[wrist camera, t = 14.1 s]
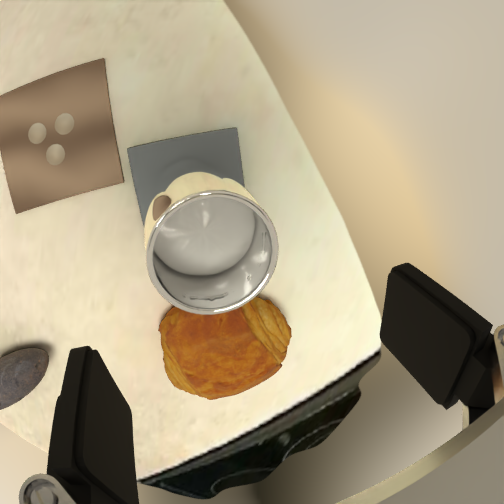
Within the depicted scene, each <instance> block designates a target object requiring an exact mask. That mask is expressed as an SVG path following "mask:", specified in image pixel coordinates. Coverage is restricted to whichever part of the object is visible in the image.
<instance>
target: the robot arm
mask: <svg viewBox="0 0 504 504" xmlns="http://www.w3.org/2000/svg"><path fill="white" fill-rule="evenodd" d="M492 326H493V325H492V324H491V323H490V322H488V321H487V320H486V319H484V318H483V317H482V316H481V315H479V314H478V313H477V312H476V311H474V310H473V309H472V308H470V307H469V306H468V305H466V304H465V303H463V302H462V301H461V300H460V299H458V298H457V297H456V296H454V295H453V294H452V293H450V292H449V291H448V290H446V289H445V288H444V287H442V286H441V285H439V284H438V283H437V282H435V281H434V280H433V279H431V278H430V277H428V276H427V275H426V274H424V273H423V272H421V271H420V270H419V269H417V268H416V267H414V266H413V265H411V264H410V263H404V264H401V265H398V266H395V267H393V268H392V270H391V273H389V275H388V280H387V288H386V296H385V303H384V310H383V317H382V323H381V329H380V339H381V341H382V343H383V344H384V345H385V346H386V347H387V348H388V349H389V351H390V352H391V353H392V354H393V355H394V356H395V357H396V358H397V359H398V360H399V361H400V363H401V364H402V365H403V366H404V367H405V368H406V369H407V370H408V371H409V373H410V374H411V375H412V376H413V377H414V378H415V379H416V380H417V382H418V383H419V384H420V385H421V386H422V387H423V388H424V389H425V391H426V392H427V393H428V394H429V395H430V396H431V397H432V398H433V400H434V401H435V402H436V403H438V404H442V405H443V407H444V408H445V409H446V410H447V409H448V408H450V407H451V406H453V405H454V404H456V403H457V402H458V400H459V399H460V400H461V402H462V407H463V409H462V410H463V430H462V431H461V432H460V433H459V434H457V435H456V436H454V437H453V438H452V439H451V440H449V441H447V442H446V443H445V444H443V445H442V446H440V447H439V448H437V449H436V450H434V451H433V452H432V453H430V454H428V455H427V456H425V457H424V458H422V459H420V460H419V461H417V462H415V463H414V464H412V465H411V466H409V467H407V468H406V469H404V470H402V471H400V472H399V473H397V474H395V475H393V476H391V477H390V478H388V479H386V480H384V481H382V482H380V483H379V484H377V485H375V486H373V487H370V488H369V489H366V490H365V491H362V492H360V493H358V494H356V495H354V496H352V497H349V498H347V499H345V500H343V501H341V502H338V503H336V504H504V325H501V326H498V327H497V328H496V330H495V332H494V334H493V335H492V334H491V333H490V331H491V329H492ZM19 502H20V504H139V499H138V490H137V481H136V470H135V459H134V444H133V426H132V413H131V409H130V407H129V405H128V403H127V402H126V400H125V398H124V397H123V395H122V393H121V392H120V390H119V388H118V387H117V385H116V383H115V381H114V380H113V378H112V376H111V374H110V373H109V371H108V369H107V367H106V365H105V363H104V362H103V360H102V358H101V356H100V354H99V352H98V351H97V350H92V349H91V347H90V346H84V347H79V348H74V349H71V350H70V353H69V357H68V362H67V366H66V371H65V375H64V380H63V385H62V390H61V395H60V396H59V397H58V399H57V402H56V407H55V413H54V419H53V425H52V432H51V439H50V447H49V456H48V465H47V474H36V475H33V476H31V477H29V478H28V479H27V480H26V481H25V482H24V483H23V485H22V487H21V489H20V494H19Z"/></svg>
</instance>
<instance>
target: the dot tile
mask: <svg viewBox="0 0 504 504" xmlns="http://www.w3.org/2000/svg"><path fill="white" fill-rule="evenodd" d="M0 151H1V156H2V161H3V166H4V170H5V175H6V179H7V183H8V187H9V191H10V195H11V198H12V202H13V205H14V209H15V212H16V214H18V213H21V212H24V211H27V210H30V209H33V208H36V207H39V206H42V205H45V204H48V203H52V202H55V201H58V200H61V199H65V198H68V197H71V196H75V195H78V194H82V193H85V192H89V191H93V190H96V189H100V188H104V187H108V186H112V185H115V184H119V183H123V182H124V179H123V174H122V169H121V164H120V159H119V154H118V149H117V144H116V138H115V132H114V127H113V121H112V114H111V108H110V101H109V94H108V87H107V79H106V71H105V62H104V58H102V59H98V60H95V61H91V62H88V63H84V64H81V65H78V66H75V67H72V68H69V69H66V70H63V71H60V72H57V73H54V74H51V75H49V76H46V77H43V78H41V79H38V80H36V81H33V82H31V83H28V84H26V85H23V86H21V87H19V88H17V89H14V90H12V91H10V92H8V93H5V94H3V95H1V96H0Z"/></svg>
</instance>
